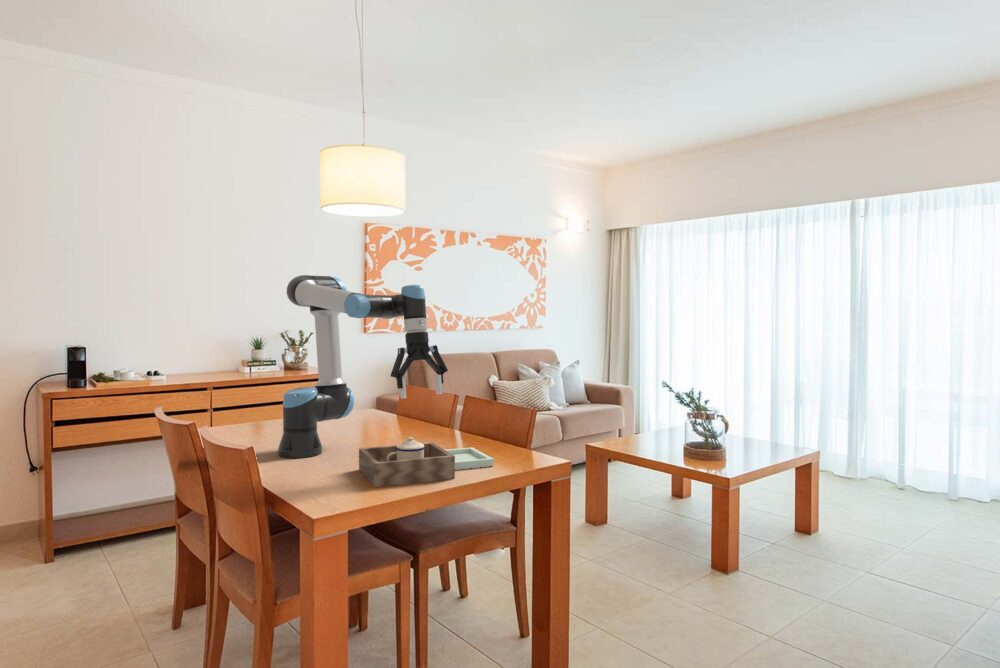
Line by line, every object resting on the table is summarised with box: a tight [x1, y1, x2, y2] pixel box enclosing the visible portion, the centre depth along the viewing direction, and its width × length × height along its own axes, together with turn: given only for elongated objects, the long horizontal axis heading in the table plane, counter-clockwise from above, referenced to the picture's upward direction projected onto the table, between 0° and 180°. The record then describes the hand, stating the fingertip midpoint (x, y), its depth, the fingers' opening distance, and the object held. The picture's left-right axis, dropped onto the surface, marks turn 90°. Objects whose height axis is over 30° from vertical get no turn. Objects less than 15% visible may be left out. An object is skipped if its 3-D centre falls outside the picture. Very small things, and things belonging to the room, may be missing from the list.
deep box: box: [358, 441, 456, 488], centre depth 201 cm, size 25×22×7 cm
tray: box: [444, 446, 495, 471], centre depth 218 cm, size 16×19×2 cm
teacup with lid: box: [387, 436, 425, 461], centre depth 201 cm, size 12×9×12 cm
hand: (421, 396), depth 208 cm, fingers open, 13 cm apart
